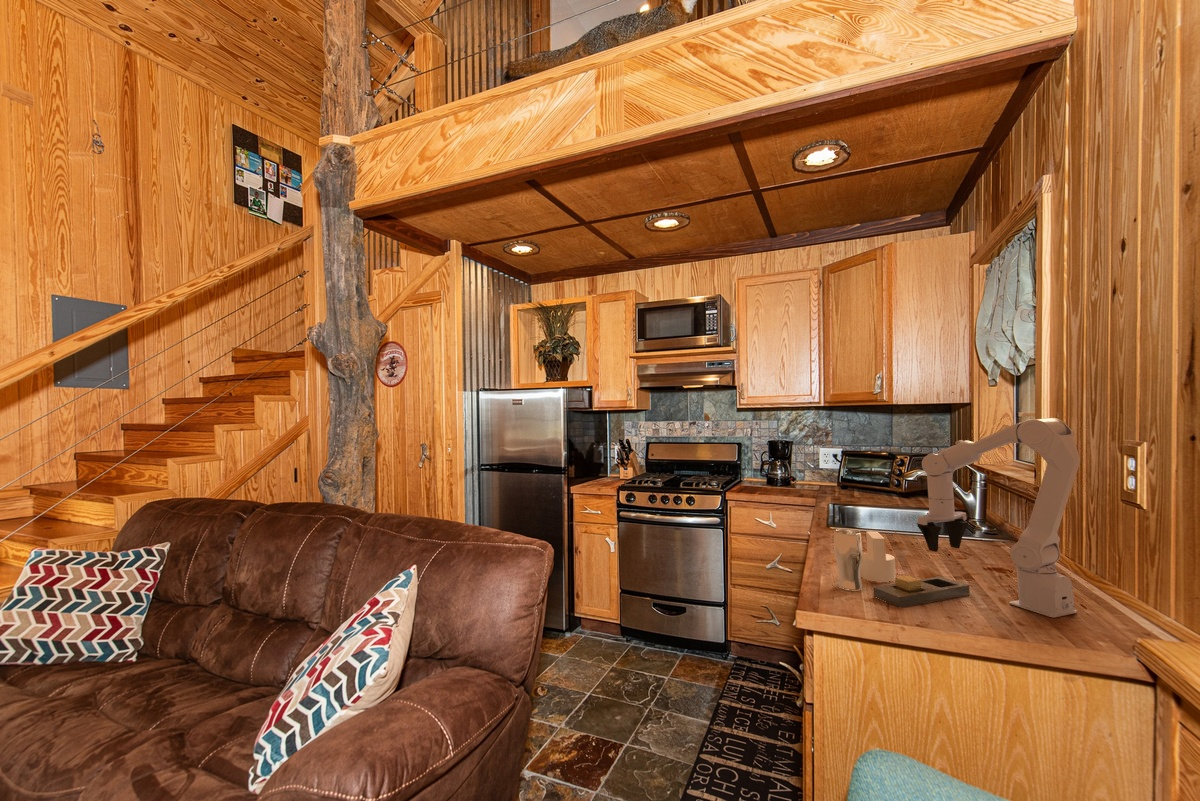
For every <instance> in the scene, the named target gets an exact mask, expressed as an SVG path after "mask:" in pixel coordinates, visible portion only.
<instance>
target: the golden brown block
mask: <svg viewBox="0 0 1200 801" xmlns="http://www.w3.org/2000/svg"><path fill="white" fill-rule="evenodd" d="M894 582H895V583H894V584H895V586H896V589H899V590H901V591H904V592H907V593H914V592H920V591H922V586H921V580H920V579H919V578H917V577H914V576H912V575H911V576H910V575H907V574H906V575H902V576H896V577H895V581H894Z"/></svg>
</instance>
